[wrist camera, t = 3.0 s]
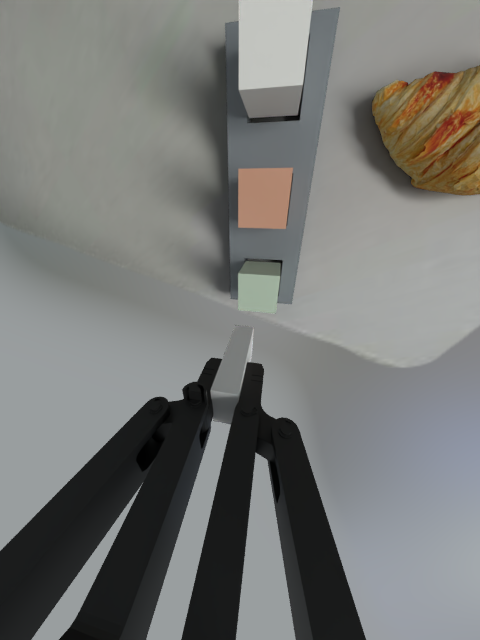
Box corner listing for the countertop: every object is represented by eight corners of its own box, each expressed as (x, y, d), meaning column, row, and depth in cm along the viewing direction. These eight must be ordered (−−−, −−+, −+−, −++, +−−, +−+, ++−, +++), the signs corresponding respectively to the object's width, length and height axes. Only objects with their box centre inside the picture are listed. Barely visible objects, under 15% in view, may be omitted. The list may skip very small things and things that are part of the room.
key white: (251, 43, 18) (238, -20, 13) (306, 36, 17) (316, -34, 12) (249, 118, 21) (238, 90, 15) (297, 115, 20) (302, 84, 15)
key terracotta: (247, 176, 23) (238, 168, 18) (290, 175, 22) (293, 167, 17) (246, 222, 26) (238, 227, 21) (285, 223, 25) (285, 228, 20)
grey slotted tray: (231, 42, 20) (225, 23, 18) (333, 29, 18) (340, 7, 16) (233, 293, 34) (230, 299, 32) (291, 297, 33) (291, 304, 31)
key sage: (245, 260, 28) (238, 273, 23) (280, 262, 28) (280, 276, 22) (245, 292, 31) (238, 310, 26) (276, 295, 30) (275, 313, 25)
